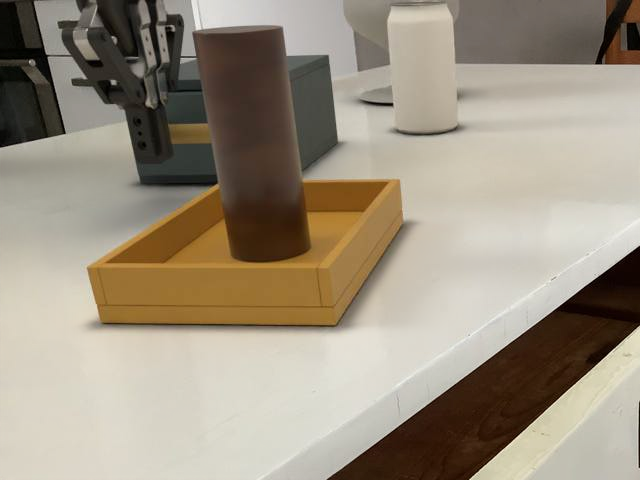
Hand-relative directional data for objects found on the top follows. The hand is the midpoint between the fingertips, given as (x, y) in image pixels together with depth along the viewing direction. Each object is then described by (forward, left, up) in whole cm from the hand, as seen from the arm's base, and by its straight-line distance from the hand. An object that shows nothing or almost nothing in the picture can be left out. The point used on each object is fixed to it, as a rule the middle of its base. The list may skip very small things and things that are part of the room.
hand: (155, 161), depth 60 cm
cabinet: (0, +16, -4) cm, 16 cm away
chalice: (+8, +51, -4) cm, 52 cm away
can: (+14, +30, -4) cm, 33 cm away
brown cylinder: (+12, -12, -3) cm, 17 cm away
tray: (+12, -12, -4) cm, 18 cm away
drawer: (0, +12, -3) cm, 12 cm away
